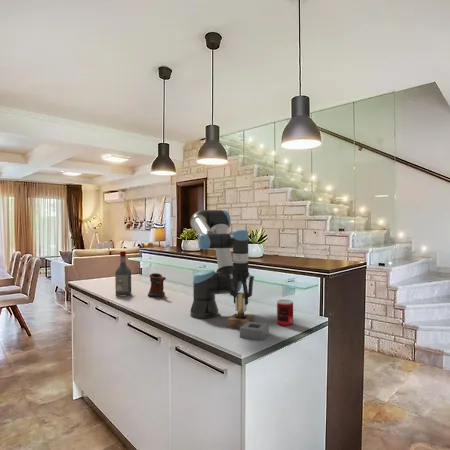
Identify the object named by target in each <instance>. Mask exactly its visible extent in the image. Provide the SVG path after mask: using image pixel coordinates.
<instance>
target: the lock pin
mask: <svg viewBox="0 0 450 450" xmlns="http://www.w3.org/2000/svg"><path fill="white" fill-rule="evenodd" d="M243 298H244V292H241V291H239V292H238V311H237V314H238V319H244V314H245V312H243Z"/></svg>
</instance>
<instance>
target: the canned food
mask: <svg viewBox="0 0 450 450" xmlns="http://www.w3.org/2000/svg"><path fill="white" fill-rule="evenodd" d="M276 311H277V312H276V319H277V320H276V321H277V322H276V323H277V325H278V326H280V327H291V326H293V325H294V301H293V300H290V299H278V300H277V301H276Z"/></svg>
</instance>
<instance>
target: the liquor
mask: <svg viewBox="0 0 450 450" xmlns="http://www.w3.org/2000/svg"><path fill="white" fill-rule="evenodd" d="M126 256H127V254H126V251H123V250H122V251H120V252H119V259H120V262H119V263H120V264H119V266H118V267H117V269H115V271H114V275H115V278H114V279H115V281H114V282H115V283H114V284H115V295H116V296H117V295H127V296H129V295H128V294H130V293H131V294H132V270H131V269H130V267H129V266H127V263H126ZM131 294H130V295H131Z"/></svg>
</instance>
